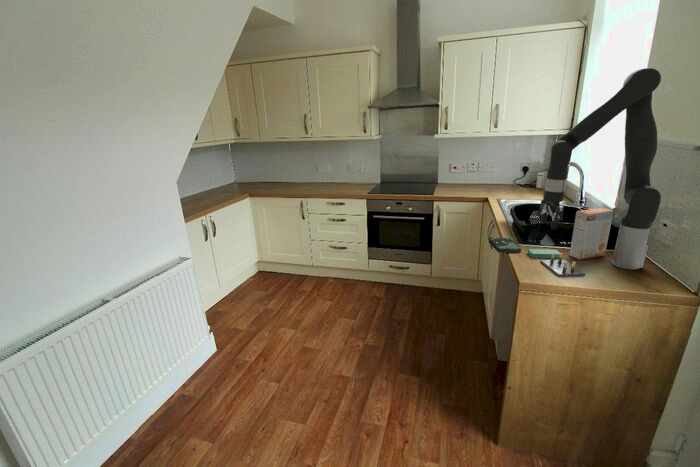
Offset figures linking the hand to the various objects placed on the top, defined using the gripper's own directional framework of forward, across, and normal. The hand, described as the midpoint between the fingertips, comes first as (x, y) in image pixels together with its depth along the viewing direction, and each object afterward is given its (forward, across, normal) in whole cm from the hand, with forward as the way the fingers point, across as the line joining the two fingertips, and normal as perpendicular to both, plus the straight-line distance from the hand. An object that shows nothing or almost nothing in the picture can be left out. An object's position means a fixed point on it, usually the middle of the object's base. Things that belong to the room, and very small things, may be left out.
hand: (548, 226), depth 148 cm
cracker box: (+14, -1, -18) cm, 23 cm away
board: (+14, 0, 0) cm, 15 cm away
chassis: (+14, -14, 0) cm, 20 cm away
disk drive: (+15, +12, +13) cm, 23 cm away
